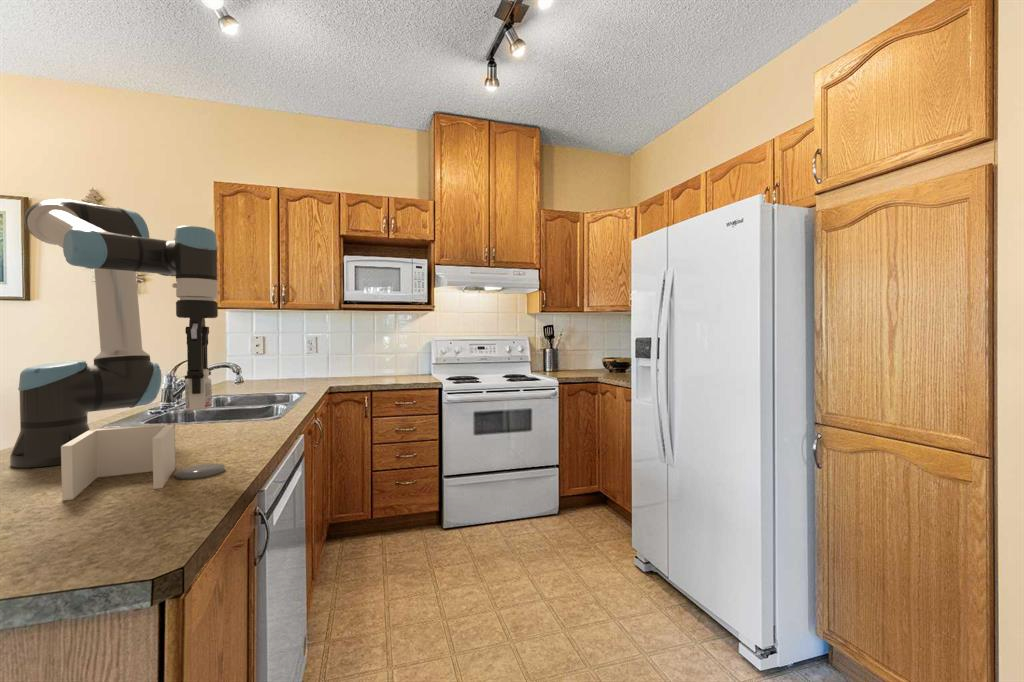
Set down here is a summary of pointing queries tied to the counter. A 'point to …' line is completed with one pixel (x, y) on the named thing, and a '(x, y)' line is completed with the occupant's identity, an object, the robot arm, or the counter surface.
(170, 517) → the counter surface
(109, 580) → the counter surface
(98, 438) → the cubby
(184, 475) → the coaster
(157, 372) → the robot arm
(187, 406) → the pill bottle
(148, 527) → the counter surface
